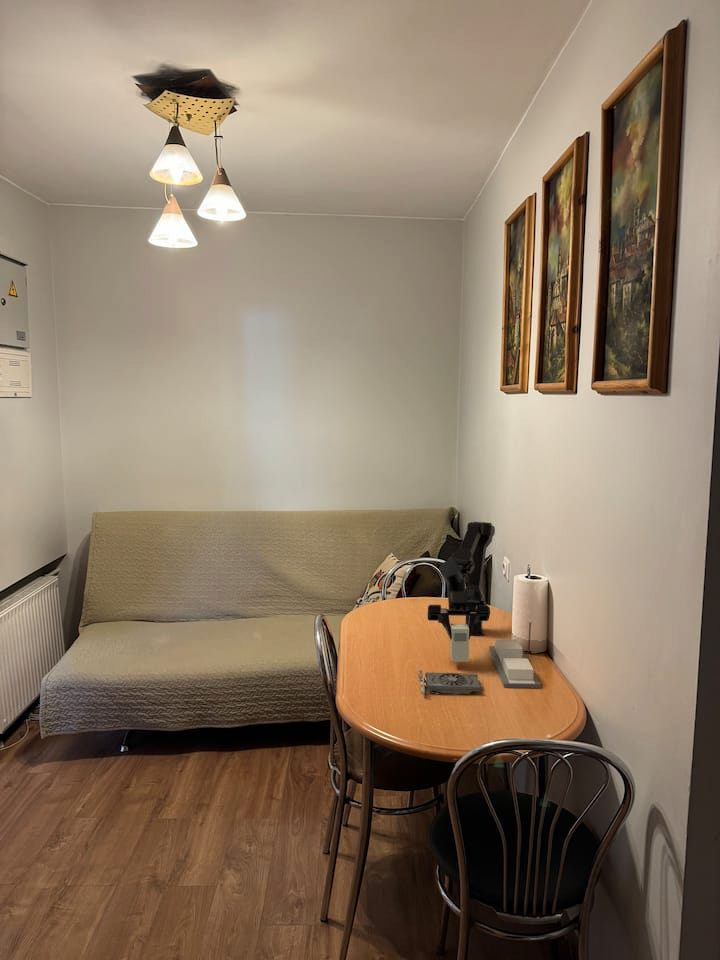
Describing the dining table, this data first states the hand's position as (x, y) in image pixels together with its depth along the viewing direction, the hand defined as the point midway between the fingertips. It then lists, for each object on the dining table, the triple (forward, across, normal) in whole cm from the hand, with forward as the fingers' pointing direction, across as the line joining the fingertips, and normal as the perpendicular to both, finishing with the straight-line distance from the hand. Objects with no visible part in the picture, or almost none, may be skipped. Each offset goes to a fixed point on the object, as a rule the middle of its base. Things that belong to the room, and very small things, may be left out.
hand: (460, 638), depth 187 cm
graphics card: (+17, -4, -3) cm, 18 cm away
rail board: (+6, +16, +8) cm, 19 cm away
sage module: (+4, 0, +6) cm, 7 cm away
